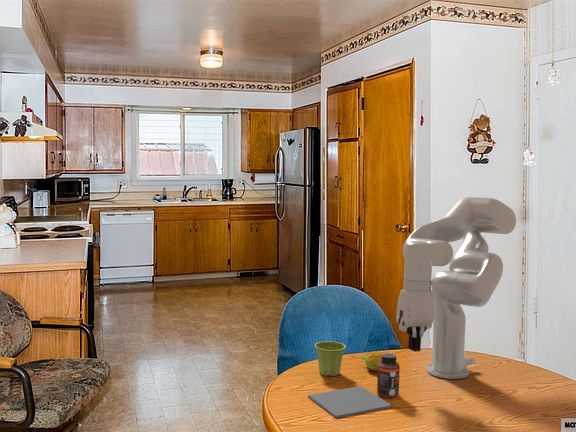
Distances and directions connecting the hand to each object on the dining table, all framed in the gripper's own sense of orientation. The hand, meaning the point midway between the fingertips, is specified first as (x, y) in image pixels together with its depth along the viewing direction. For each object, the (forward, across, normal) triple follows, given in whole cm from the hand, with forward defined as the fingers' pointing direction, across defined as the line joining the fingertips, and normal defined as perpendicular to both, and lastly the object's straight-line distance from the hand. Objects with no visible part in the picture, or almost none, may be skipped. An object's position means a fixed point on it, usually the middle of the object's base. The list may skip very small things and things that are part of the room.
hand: (414, 350), depth 164 cm
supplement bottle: (+12, +8, 0) cm, 15 cm away
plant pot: (+12, +14, -22) cm, 29 cm away
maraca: (+12, -1, -20) cm, 24 cm away
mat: (+12, +21, 0) cm, 24 cm away
